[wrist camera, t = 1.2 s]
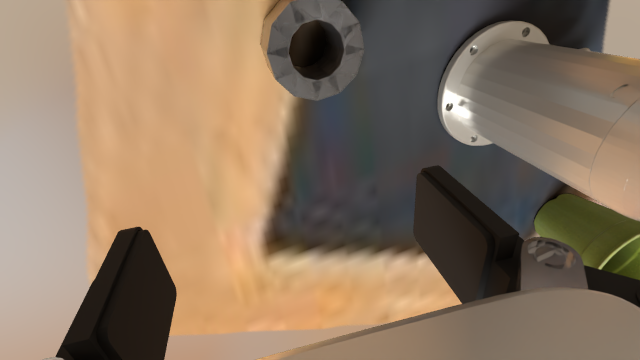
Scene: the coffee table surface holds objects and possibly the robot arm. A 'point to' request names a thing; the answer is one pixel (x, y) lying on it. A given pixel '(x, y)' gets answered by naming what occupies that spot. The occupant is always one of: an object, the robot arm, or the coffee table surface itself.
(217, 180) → the coffee table surface
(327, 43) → the steel collar
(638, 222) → the plant pot
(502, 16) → the coffee table surface
